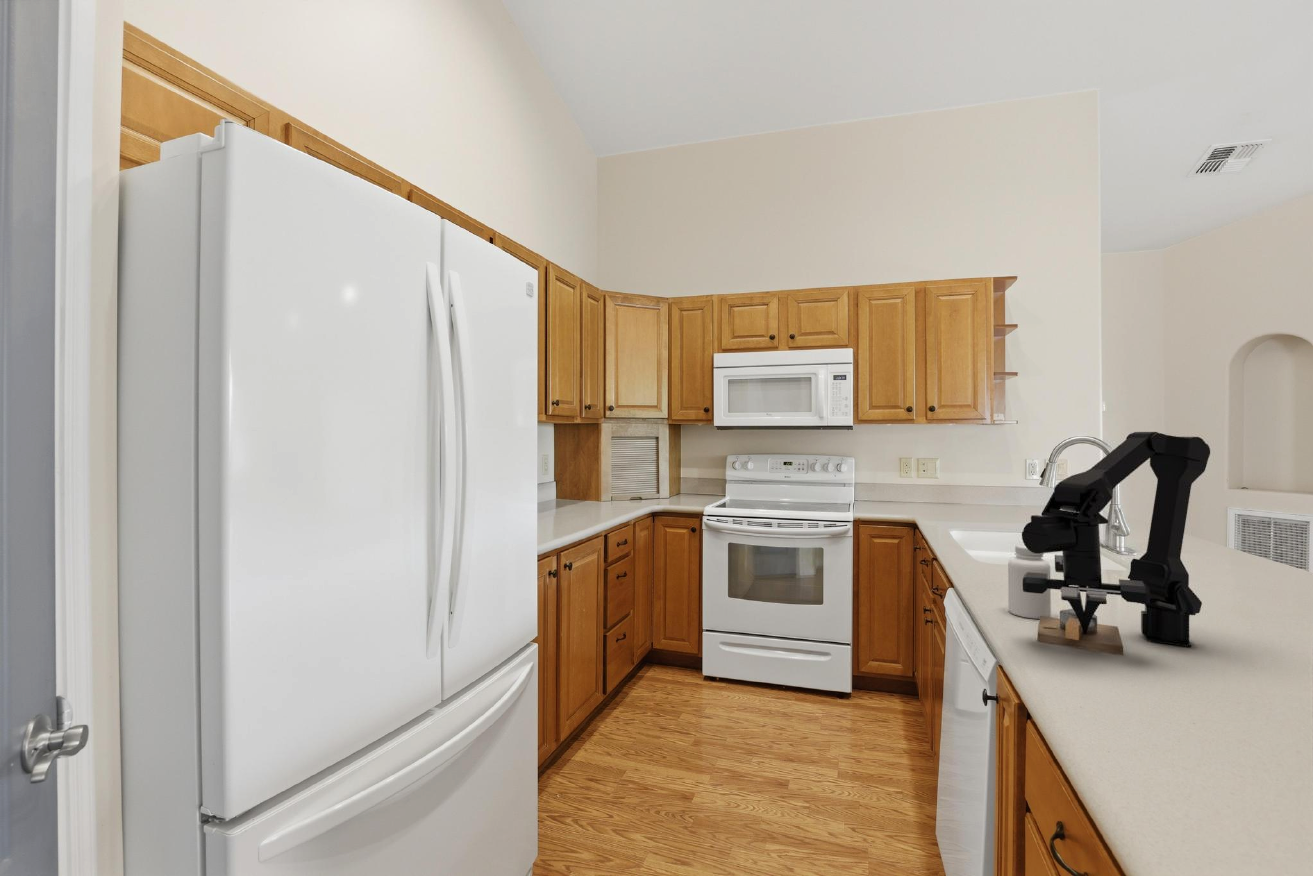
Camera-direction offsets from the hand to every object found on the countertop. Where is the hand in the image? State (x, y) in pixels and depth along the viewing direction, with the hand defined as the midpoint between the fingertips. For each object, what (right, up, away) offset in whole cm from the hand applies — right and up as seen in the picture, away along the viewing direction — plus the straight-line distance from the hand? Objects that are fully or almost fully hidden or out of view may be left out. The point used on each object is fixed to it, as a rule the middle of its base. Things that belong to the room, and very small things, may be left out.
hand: (1084, 633), depth 109 cm
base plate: (+4, -3, +7) cm, 8 cm away
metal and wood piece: (+2, -1, +5) cm, 5 cm away
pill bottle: (+3, -3, +22) cm, 22 cm away
